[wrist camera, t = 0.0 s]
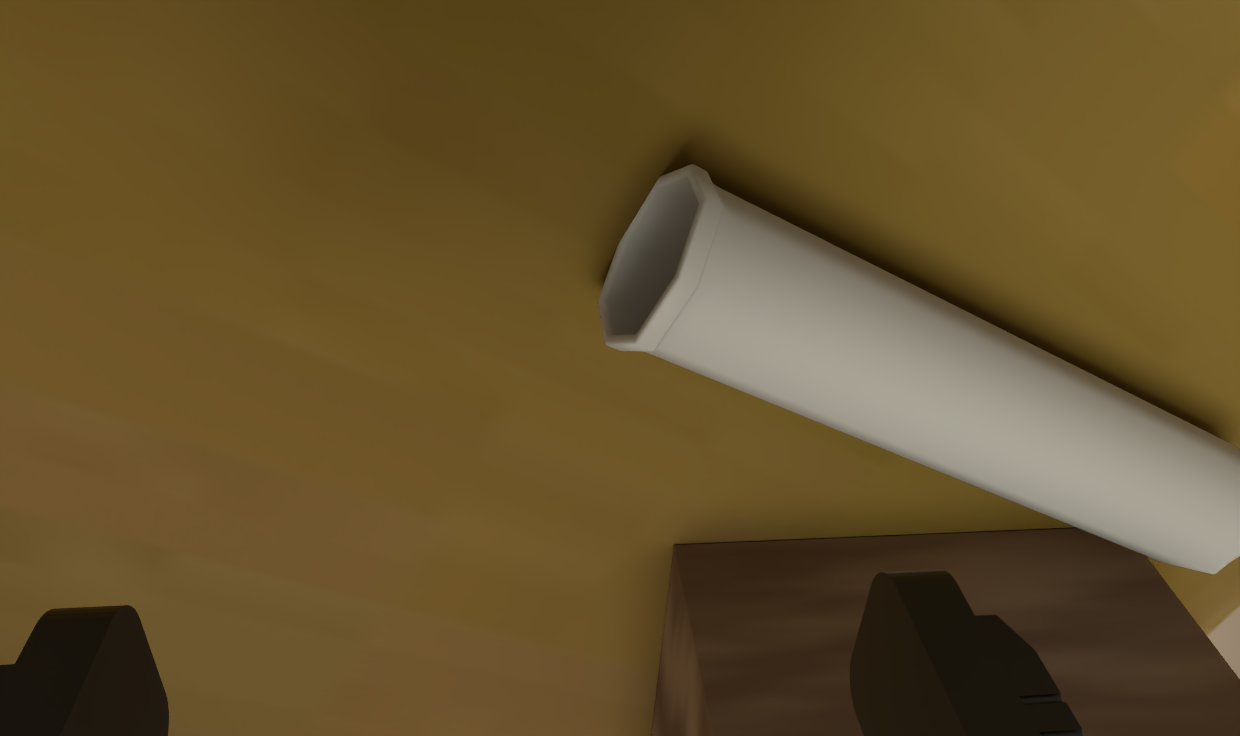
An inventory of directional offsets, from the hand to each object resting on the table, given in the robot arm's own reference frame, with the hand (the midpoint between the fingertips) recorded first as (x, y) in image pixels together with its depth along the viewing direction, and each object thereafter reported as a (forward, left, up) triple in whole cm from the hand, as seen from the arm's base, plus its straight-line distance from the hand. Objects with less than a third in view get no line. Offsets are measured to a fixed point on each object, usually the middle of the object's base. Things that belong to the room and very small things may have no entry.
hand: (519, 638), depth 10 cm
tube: (+9, +15, -18) cm, 25 cm away
